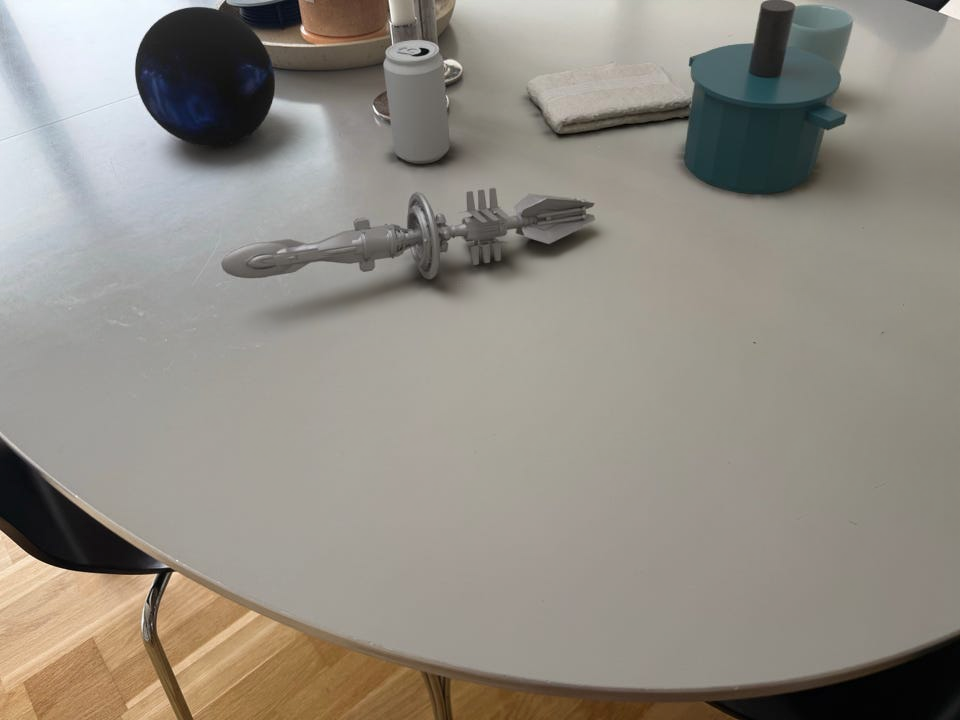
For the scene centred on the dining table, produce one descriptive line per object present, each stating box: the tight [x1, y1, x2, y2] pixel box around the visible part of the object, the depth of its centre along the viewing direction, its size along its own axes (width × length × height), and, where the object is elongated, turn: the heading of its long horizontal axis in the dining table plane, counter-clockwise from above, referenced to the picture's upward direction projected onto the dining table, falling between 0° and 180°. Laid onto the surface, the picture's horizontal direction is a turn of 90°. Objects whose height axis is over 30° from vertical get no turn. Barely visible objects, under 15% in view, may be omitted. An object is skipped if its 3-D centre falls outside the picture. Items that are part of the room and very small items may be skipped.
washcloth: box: [525, 61, 693, 135], centre depth 99 cm, size 12×18×3 cm, turn 104°
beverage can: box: [382, 39, 451, 165], centre depth 89 cm, size 6×6×12 cm
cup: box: [787, 4, 854, 73], centre depth 96 cm, size 8×8×10 cm
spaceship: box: [220, 187, 596, 280], centre depth 74 cm, size 8×35×8 cm
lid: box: [690, 0, 842, 109], centre depth 81 cm, size 15×15×8 cm
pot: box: [683, 51, 848, 195], centre depth 86 cm, size 14×19×10 cm
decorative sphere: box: [134, 6, 276, 148], centre depth 93 cm, size 15×15×15 cm
